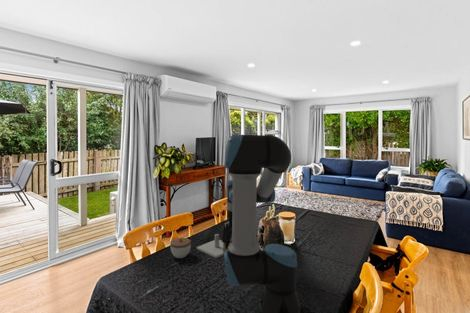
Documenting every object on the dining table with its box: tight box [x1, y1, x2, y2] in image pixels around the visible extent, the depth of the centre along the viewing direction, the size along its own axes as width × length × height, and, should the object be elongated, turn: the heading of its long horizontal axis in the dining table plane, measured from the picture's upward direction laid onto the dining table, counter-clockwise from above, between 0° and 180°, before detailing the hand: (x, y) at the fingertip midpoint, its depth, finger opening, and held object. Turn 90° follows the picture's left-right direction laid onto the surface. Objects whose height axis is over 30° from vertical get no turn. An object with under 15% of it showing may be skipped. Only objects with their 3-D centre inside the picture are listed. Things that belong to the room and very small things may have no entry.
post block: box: [196, 233, 224, 259], centre depth 149 cm, size 16×16×8 cm
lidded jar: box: [169, 237, 192, 259], centre depth 140 cm, size 11×11×9 cm
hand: (234, 252), depth 138 cm, fingers closed on collar, 8 cm apart
